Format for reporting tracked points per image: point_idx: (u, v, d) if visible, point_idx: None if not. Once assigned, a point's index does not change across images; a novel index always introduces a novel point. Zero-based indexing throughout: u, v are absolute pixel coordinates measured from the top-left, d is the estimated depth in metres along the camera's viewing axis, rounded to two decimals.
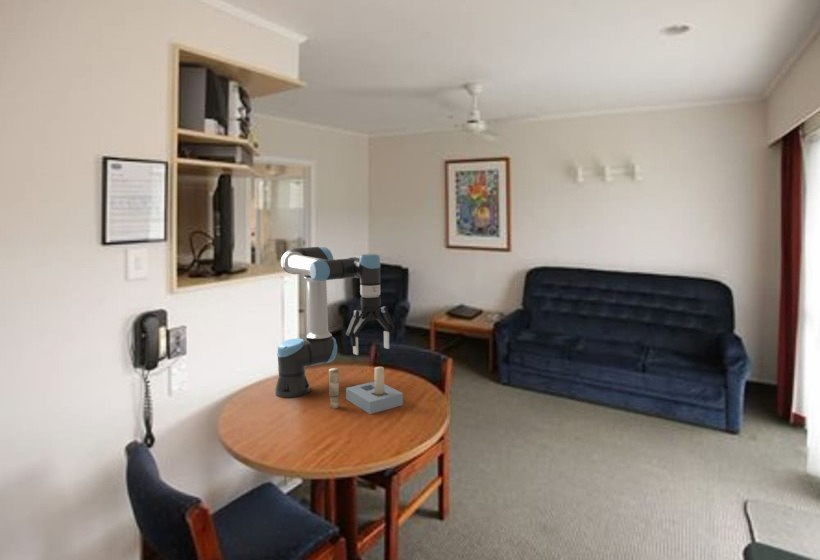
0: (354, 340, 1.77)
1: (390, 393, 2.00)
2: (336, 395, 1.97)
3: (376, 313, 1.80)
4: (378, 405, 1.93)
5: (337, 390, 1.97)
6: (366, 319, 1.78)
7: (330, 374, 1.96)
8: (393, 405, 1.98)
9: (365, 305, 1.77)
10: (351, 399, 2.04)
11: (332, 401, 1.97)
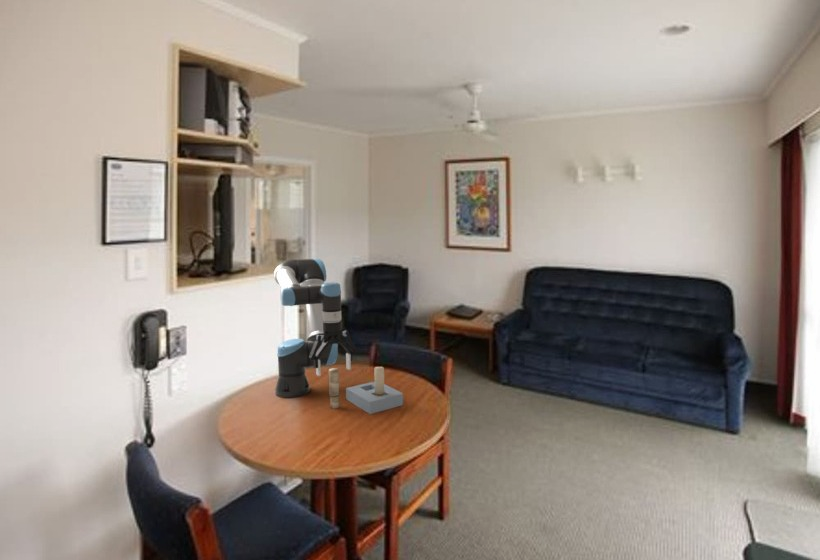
0: (316, 362, 1.91)
1: (390, 393, 2.00)
2: (336, 395, 1.97)
3: (337, 337, 1.94)
4: (378, 405, 1.93)
5: (337, 390, 1.97)
6: (328, 343, 1.92)
7: (330, 374, 1.96)
8: (393, 405, 1.98)
9: (326, 330, 1.91)
10: (351, 399, 2.04)
11: (332, 401, 1.97)
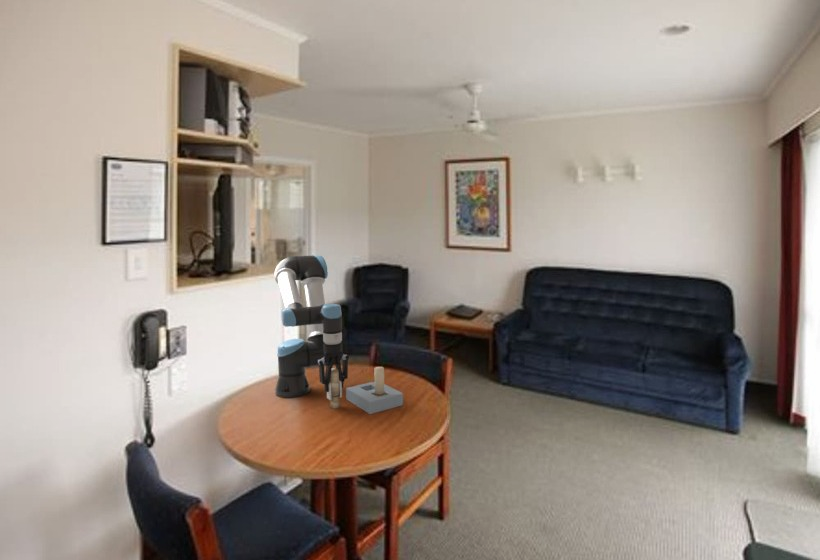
0: (327, 386, 1.95)
1: (390, 393, 2.00)
2: (336, 395, 1.97)
3: (338, 358, 1.96)
4: (378, 405, 1.93)
5: (337, 390, 1.97)
6: (331, 365, 1.94)
7: None
8: (393, 405, 1.98)
9: (327, 351, 1.93)
10: (351, 399, 2.04)
11: (332, 401, 1.97)
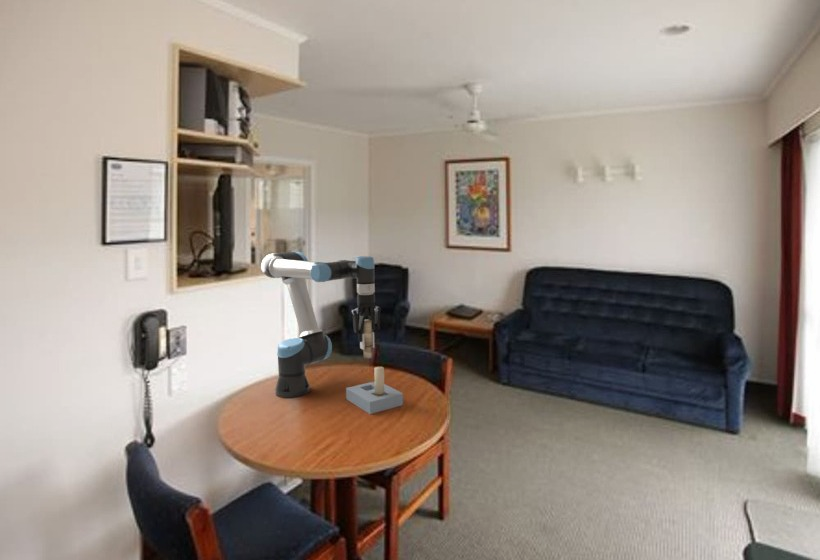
0: (361, 336, 2.02)
1: (390, 393, 2.00)
2: (369, 345, 2.03)
3: (371, 309, 2.02)
4: (378, 405, 1.93)
5: (370, 340, 2.03)
6: (364, 315, 2.00)
7: None
8: (393, 405, 1.98)
9: (361, 301, 1.99)
10: (351, 399, 2.04)
11: (365, 351, 2.03)
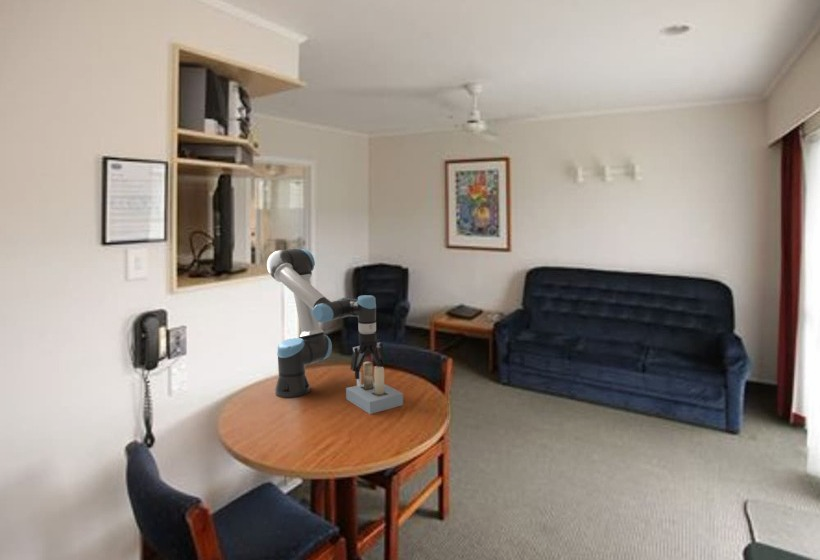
0: (358, 374, 2.03)
1: (390, 393, 2.00)
2: (370, 387, 2.05)
3: (372, 347, 2.04)
4: (378, 405, 1.93)
5: (371, 382, 2.06)
6: (365, 353, 2.02)
7: (365, 367, 2.04)
8: (393, 405, 1.98)
9: (362, 340, 2.01)
10: (351, 399, 2.04)
11: None
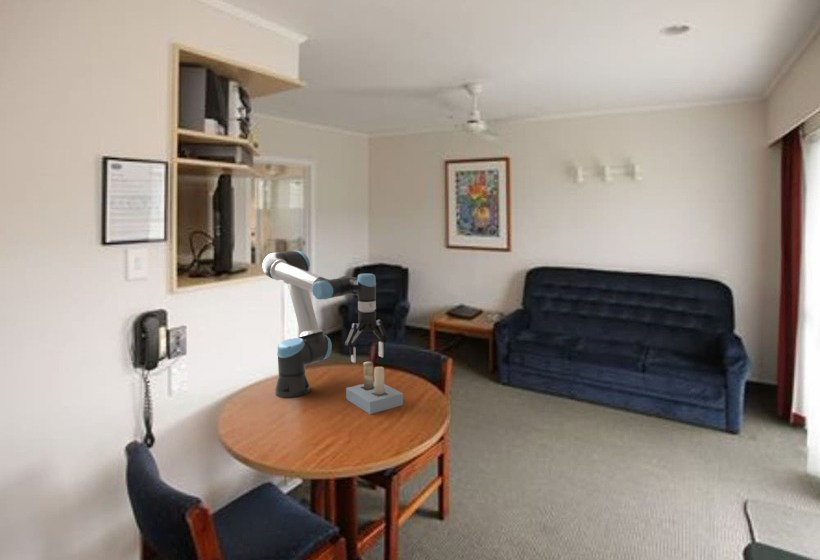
0: (352, 350, 2.00)
1: (390, 393, 2.00)
2: (370, 387, 2.05)
3: (372, 326, 2.03)
4: (378, 405, 1.93)
5: (371, 382, 2.06)
6: (363, 331, 2.01)
7: (365, 367, 2.04)
8: (393, 405, 1.98)
9: (362, 319, 2.00)
10: (351, 399, 2.04)
11: None
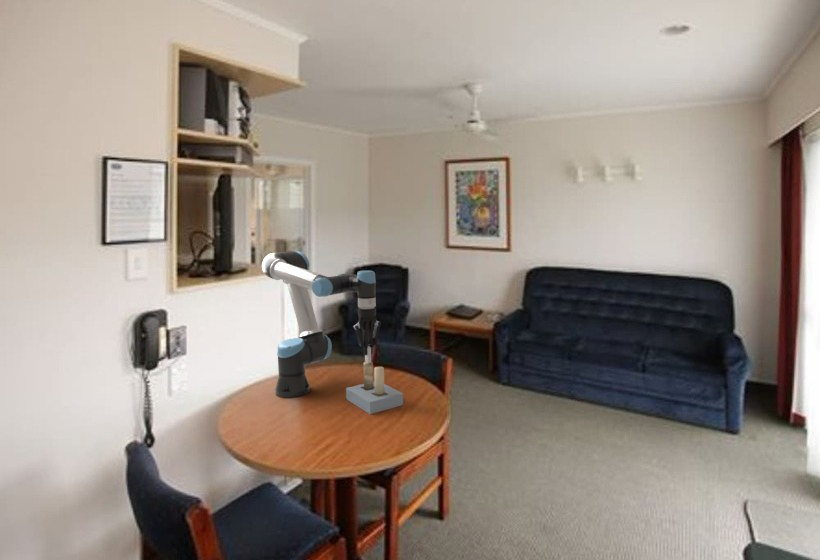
0: (366, 350, 2.04)
1: (390, 393, 2.00)
2: (370, 387, 2.05)
3: (372, 323, 2.03)
4: (378, 405, 1.93)
5: (371, 382, 2.06)
6: (366, 329, 2.02)
7: (365, 367, 2.04)
8: (393, 405, 1.98)
9: (362, 316, 2.00)
10: (351, 399, 2.04)
11: None
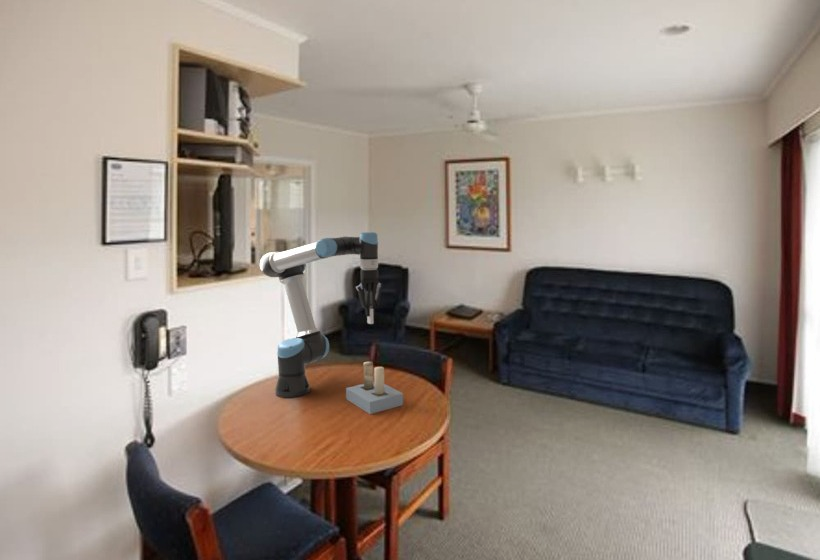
0: (368, 311, 2.06)
1: (390, 393, 2.00)
2: (370, 387, 2.05)
3: (374, 284, 2.04)
4: (378, 405, 1.93)
5: (371, 382, 2.06)
6: (369, 290, 2.03)
7: (365, 367, 2.04)
8: (393, 405, 1.98)
9: (364, 276, 2.01)
10: (351, 399, 2.04)
11: None
